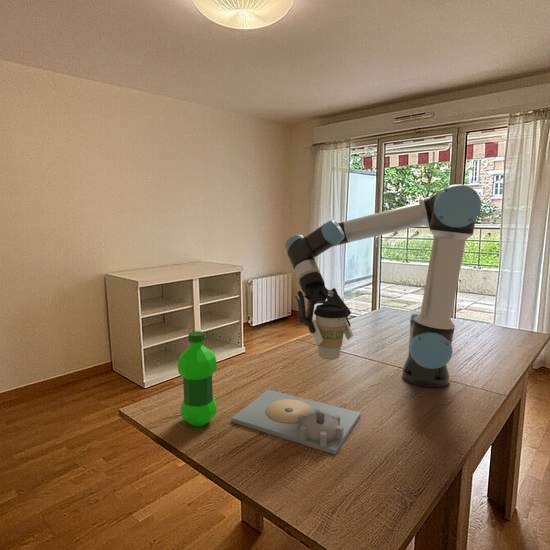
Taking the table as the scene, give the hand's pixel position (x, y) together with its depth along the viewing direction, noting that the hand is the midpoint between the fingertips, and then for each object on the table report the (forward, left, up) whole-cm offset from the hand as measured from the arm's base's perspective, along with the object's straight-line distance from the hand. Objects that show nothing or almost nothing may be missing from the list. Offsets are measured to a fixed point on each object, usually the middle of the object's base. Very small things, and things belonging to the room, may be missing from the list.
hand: (335, 340), depth 112 cm
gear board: (+6, +13, -20) cm, 25 cm away
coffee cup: (+3, -2, -6) cm, 7 cm away
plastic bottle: (+29, +27, -20) cm, 44 cm away
